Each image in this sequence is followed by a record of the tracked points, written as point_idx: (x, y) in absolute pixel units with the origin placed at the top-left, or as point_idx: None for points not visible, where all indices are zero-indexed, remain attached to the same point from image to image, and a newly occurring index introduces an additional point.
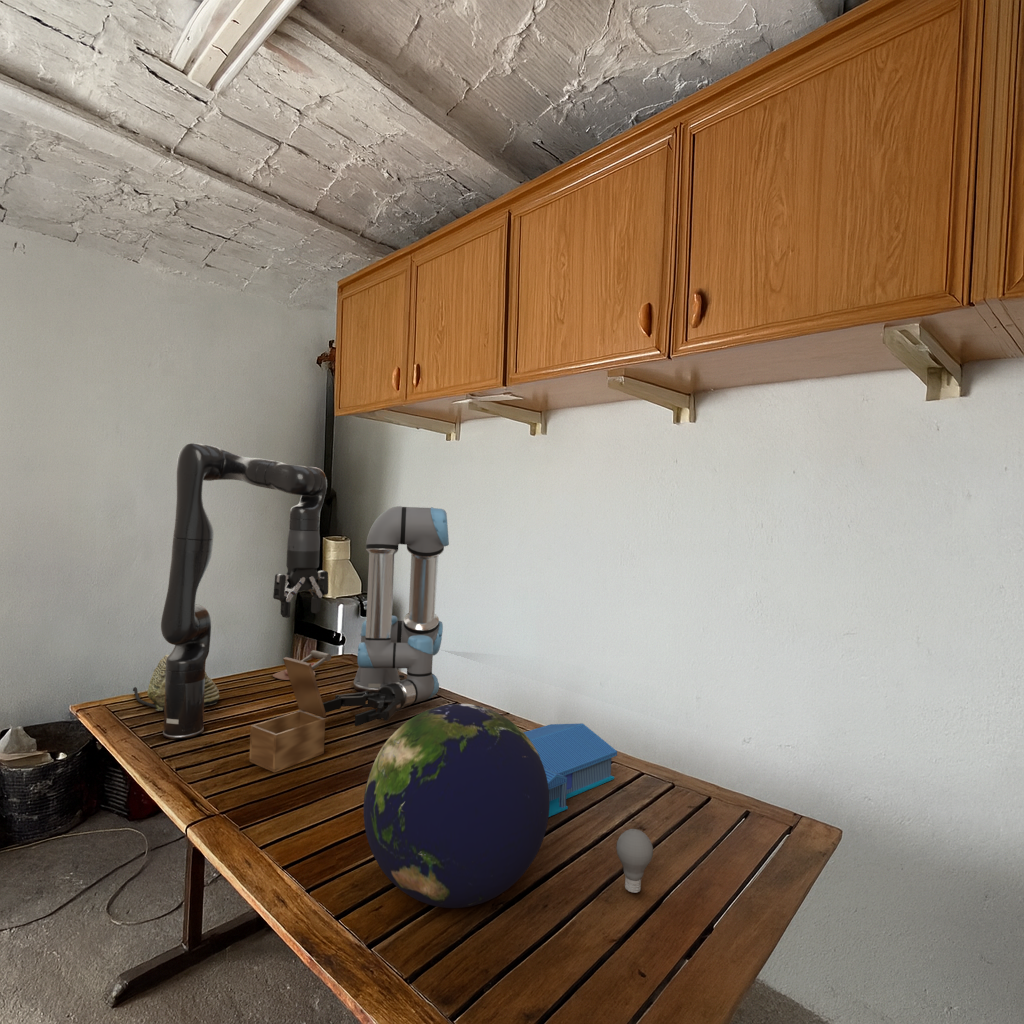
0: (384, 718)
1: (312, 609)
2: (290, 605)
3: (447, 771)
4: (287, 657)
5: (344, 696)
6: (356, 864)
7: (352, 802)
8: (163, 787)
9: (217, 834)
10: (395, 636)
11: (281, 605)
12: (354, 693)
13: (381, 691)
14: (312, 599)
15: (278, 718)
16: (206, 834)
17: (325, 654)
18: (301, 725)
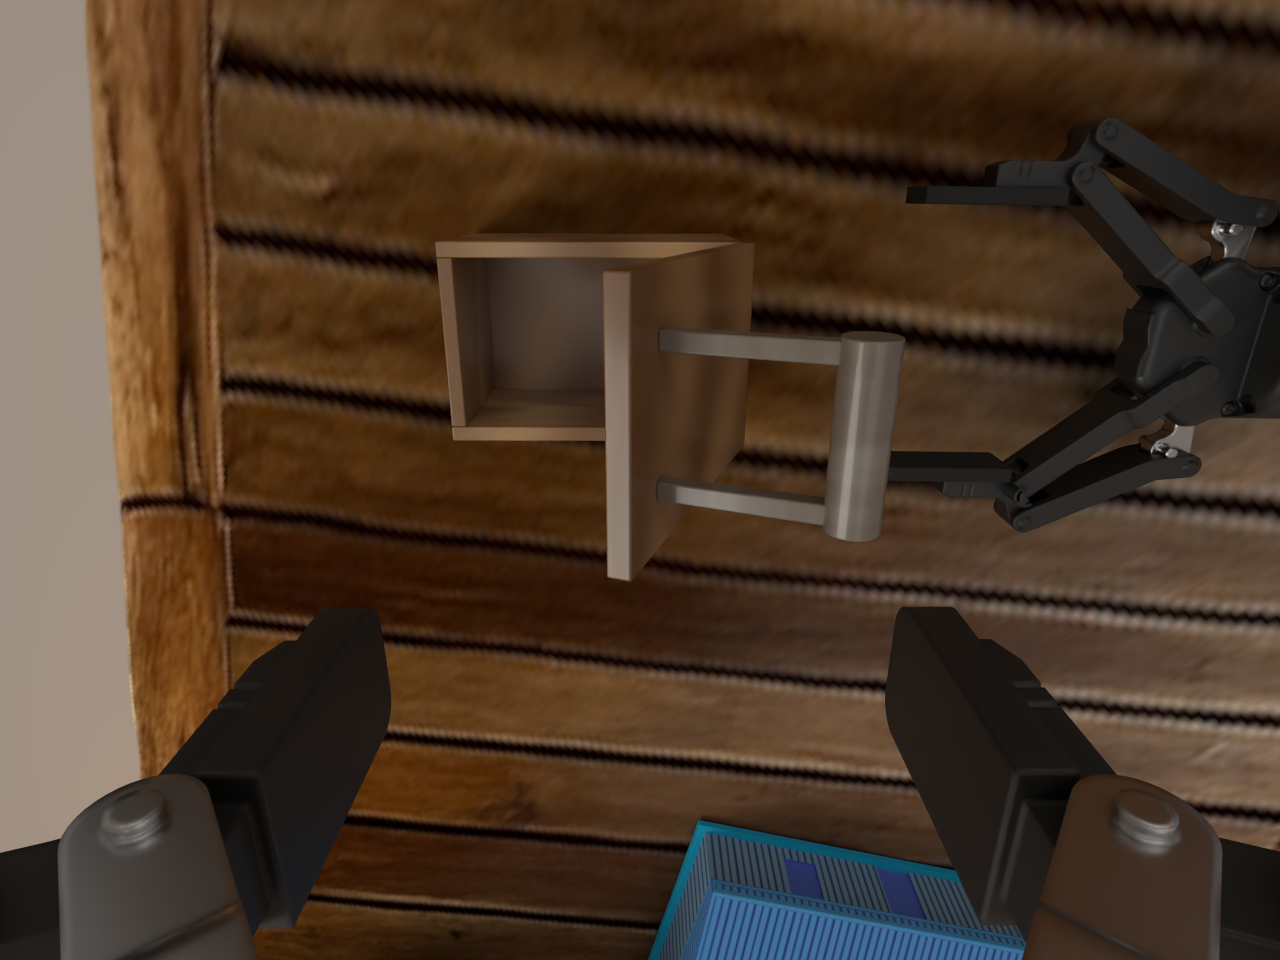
0: (998, 511)
1: (913, 655)
2: (321, 867)
3: None
4: (626, 304)
5: (1128, 165)
6: (356, 896)
7: (529, 721)
8: (131, 190)
9: (170, 600)
10: None
11: (185, 767)
12: (1194, 183)
13: (1277, 309)
14: (991, 776)
15: (592, 257)
16: (147, 580)
17: (845, 519)
18: None
